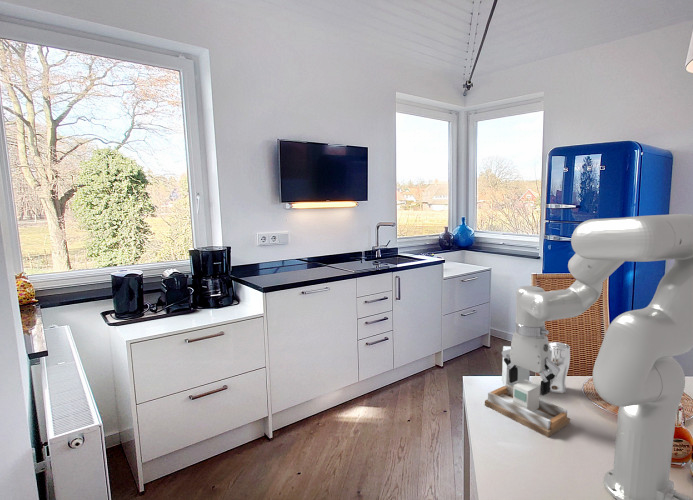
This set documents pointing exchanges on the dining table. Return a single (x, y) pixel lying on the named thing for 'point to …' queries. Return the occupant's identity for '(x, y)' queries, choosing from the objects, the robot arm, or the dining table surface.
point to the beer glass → (559, 365)
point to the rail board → (528, 412)
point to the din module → (526, 395)
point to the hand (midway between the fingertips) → (528, 387)
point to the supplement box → (522, 373)
